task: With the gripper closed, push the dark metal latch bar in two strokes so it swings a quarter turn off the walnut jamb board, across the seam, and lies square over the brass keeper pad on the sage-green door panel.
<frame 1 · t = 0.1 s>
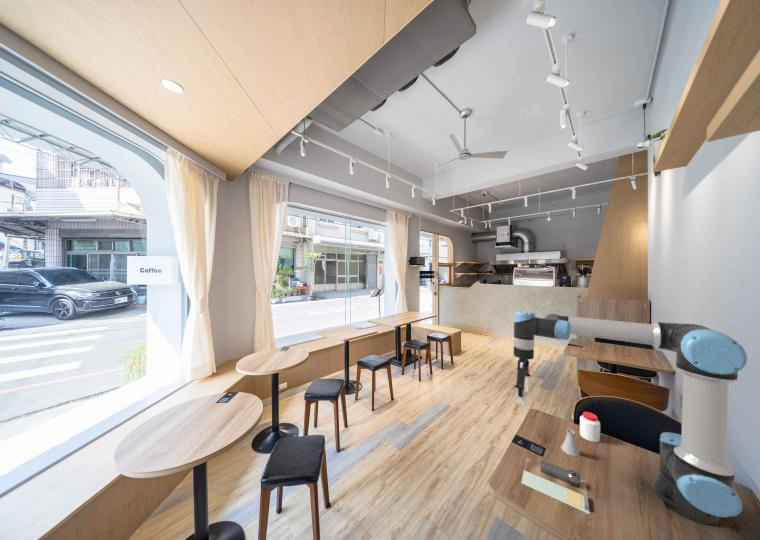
hand: (522, 397, 107), 28 cm above the table, fingers open, 13 cm apart
pill bottle: (589, 437, 124), on the table
flask: (570, 453, 113), on the table
latch bar: (559, 471, 98), point 3 cm above the table, hinge at 0.0°
door panel: (553, 493, 93), on the table
jamb board: (554, 478, 99), on the table
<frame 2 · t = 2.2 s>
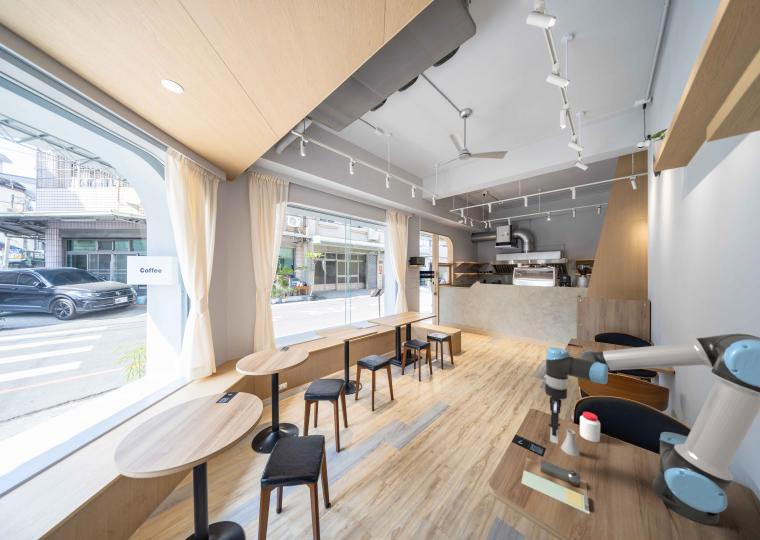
hand: (553, 441, 105), 11 cm above the table, fingers closed
nothing on the table moved.
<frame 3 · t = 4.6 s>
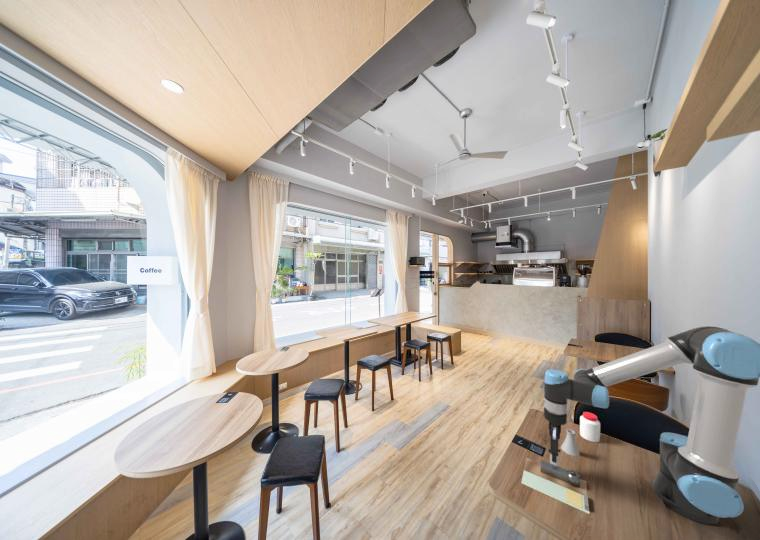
hand: (553, 467, 101), 3 cm above the table, fingers closed
latch bar: (559, 471, 98), point 3 cm above the table, hinge at 0.5°, touching gripper
everything else where it was.
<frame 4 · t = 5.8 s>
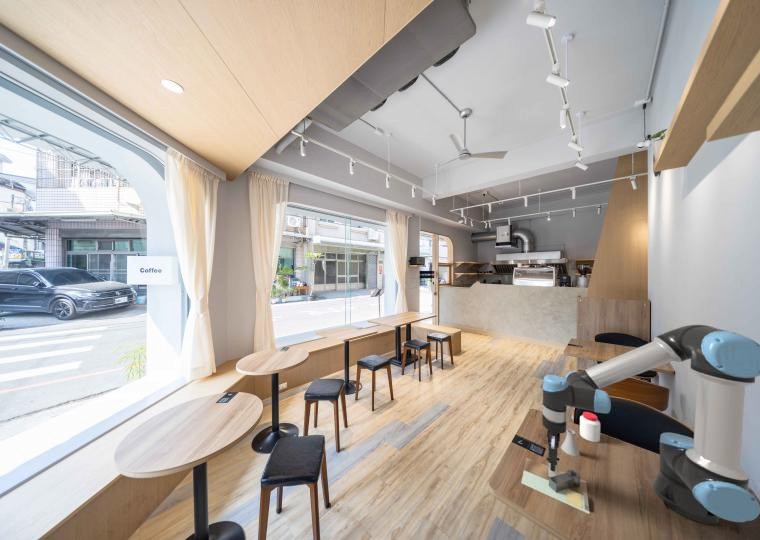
hand: (552, 476, 97), 3 cm above the table, fingers closed
latch bar: (565, 479, 95), point 3 cm above the table, hinge at 52.5°, touching gripper
everything else where it was.
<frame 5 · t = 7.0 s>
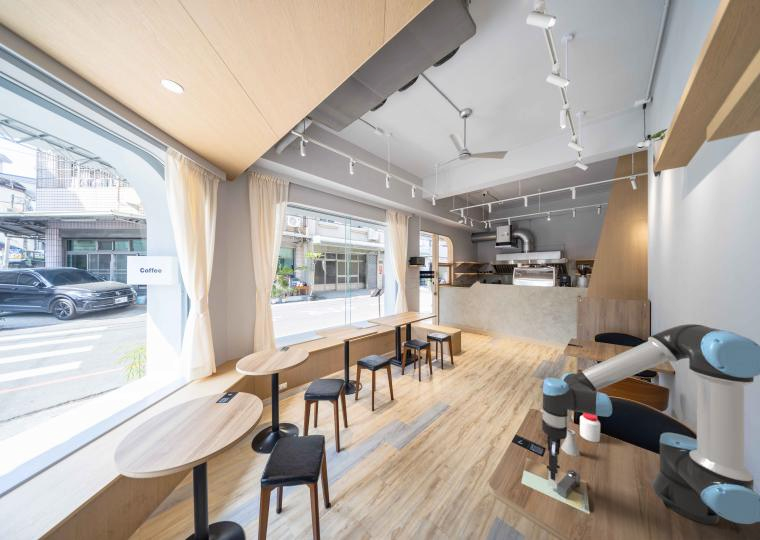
hand: (552, 485, 93), 3 cm above the table, fingers closed
latch bar: (568, 482, 93), point 3 cm above the table, hinge at 69.6°, touching gripper
everything else where it was.
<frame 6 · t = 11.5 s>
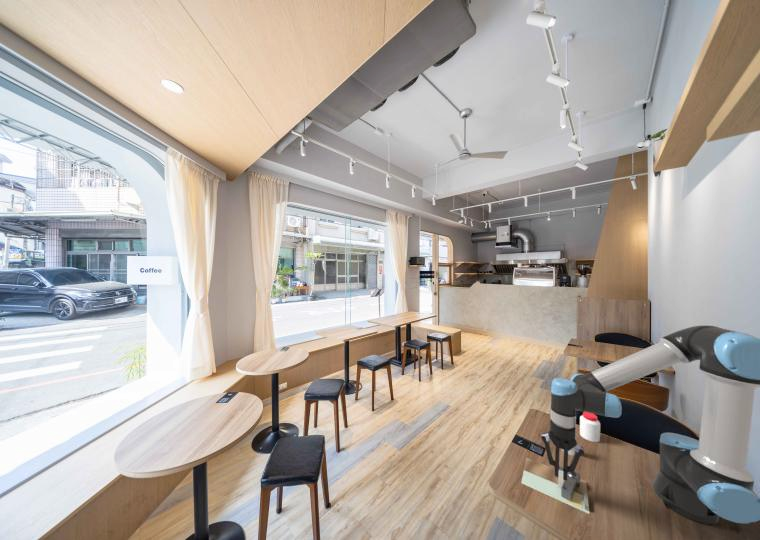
hand: (560, 486, 92), 3 cm above the table, fingers closed
latch bar: (570, 483, 93), point 3 cm above the table, hinge at 77.2°, touching gripper
everything else where it was.
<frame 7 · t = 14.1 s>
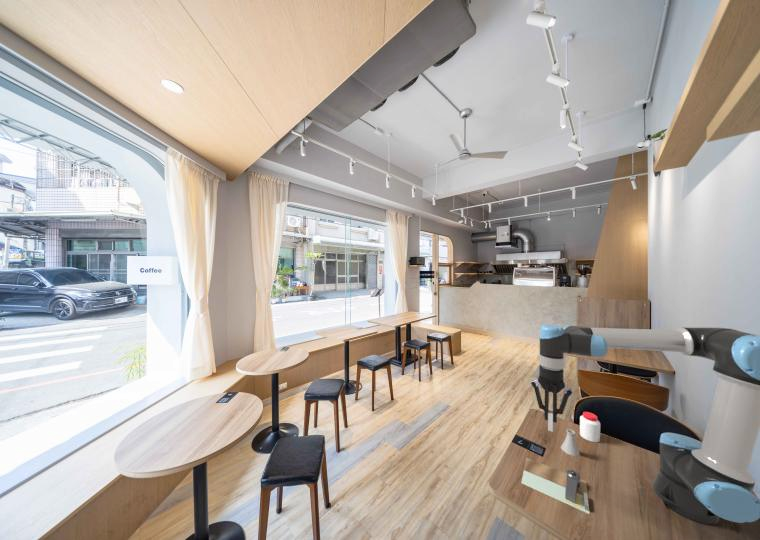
hand: (550, 429, 95), 22 cm above the table, fingers closed
latch bar: (572, 484, 93), point 3 cm above the table, hinge at 83.8°
everything else where it was.
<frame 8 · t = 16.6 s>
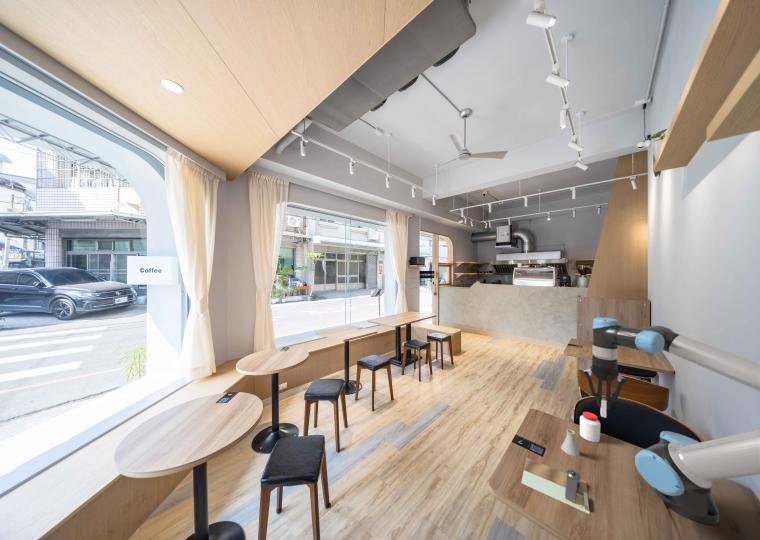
hand: (603, 415, 101), 24 cm above the table, fingers closed
nothing on the table moved.
at the end: latch bar at +84° (first picture: +0°) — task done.
